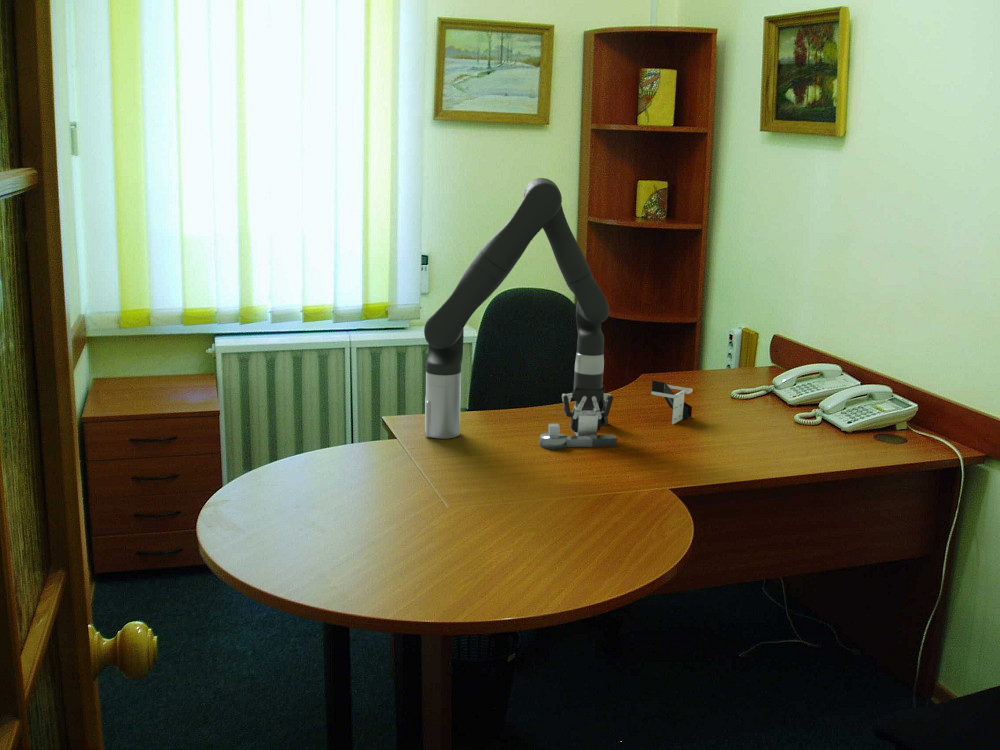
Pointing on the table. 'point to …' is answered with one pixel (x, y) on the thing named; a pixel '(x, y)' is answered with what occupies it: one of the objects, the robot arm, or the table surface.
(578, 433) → the small white cube
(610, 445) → the ratchet
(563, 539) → the table surface
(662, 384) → the two-tone angle bracket
